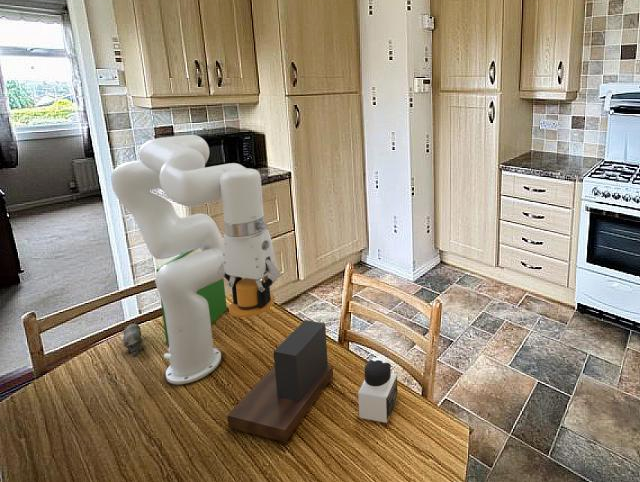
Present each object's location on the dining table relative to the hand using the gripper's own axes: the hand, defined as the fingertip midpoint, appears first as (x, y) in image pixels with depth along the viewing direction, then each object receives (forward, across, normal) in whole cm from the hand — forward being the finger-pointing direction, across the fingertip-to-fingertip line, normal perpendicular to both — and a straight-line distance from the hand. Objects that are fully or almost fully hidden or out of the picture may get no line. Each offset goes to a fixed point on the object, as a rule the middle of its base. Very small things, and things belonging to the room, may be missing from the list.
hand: (252, 301), depth 83 cm
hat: (+1, 0, 0) cm, 1 cm away
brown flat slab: (+29, -3, -4) cm, 29 cm away
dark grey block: (+25, -6, -8) cm, 27 cm away
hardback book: (+29, +44, -23) cm, 58 cm away
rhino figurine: (+29, +52, -10) cm, 60 cm away
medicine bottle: (+29, -26, -8) cm, 40 cm away
